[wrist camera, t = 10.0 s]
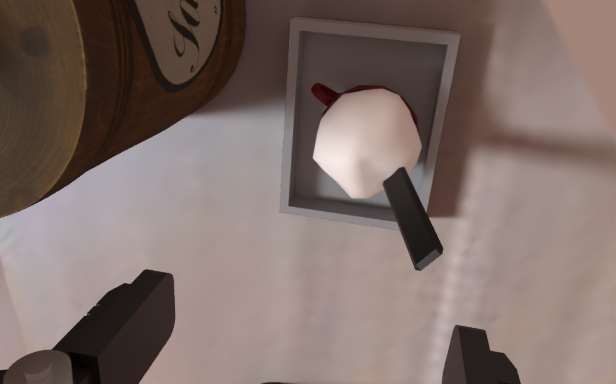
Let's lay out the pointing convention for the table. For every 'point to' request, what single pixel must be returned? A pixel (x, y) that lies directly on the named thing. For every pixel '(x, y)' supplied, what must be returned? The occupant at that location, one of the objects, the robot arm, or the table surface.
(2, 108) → the labeled brown tin
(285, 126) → the tray
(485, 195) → the table surface
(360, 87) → the cocoa
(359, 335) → the table surface
